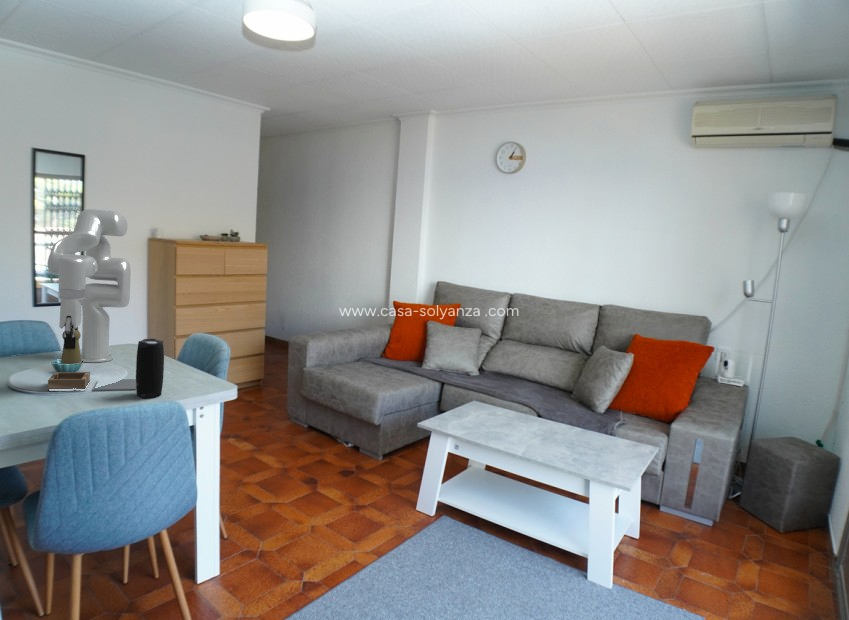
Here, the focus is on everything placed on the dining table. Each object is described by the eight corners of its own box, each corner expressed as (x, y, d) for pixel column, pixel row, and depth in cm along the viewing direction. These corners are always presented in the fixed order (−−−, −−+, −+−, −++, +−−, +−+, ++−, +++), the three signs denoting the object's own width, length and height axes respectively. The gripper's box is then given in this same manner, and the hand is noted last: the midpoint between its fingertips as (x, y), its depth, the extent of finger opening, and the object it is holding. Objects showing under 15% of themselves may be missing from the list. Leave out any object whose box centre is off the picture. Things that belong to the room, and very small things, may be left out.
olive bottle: (56, 361, 183) (57, 329, 182) (75, 358, 189) (75, 327, 187) (67, 365, 181) (67, 332, 179) (85, 362, 186) (85, 330, 184)
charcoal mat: (98, 381, 195) (98, 379, 195) (138, 380, 200) (138, 379, 200) (92, 391, 183) (92, 389, 183) (135, 390, 188) (135, 388, 188)
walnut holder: (54, 383, 188) (55, 372, 187) (89, 383, 192) (90, 372, 191) (47, 392, 178) (48, 380, 178) (84, 391, 182) (84, 379, 182)
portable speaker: (136, 400, 178) (138, 343, 176) (134, 392, 186) (135, 338, 184) (164, 398, 183) (166, 342, 180) (161, 390, 190) (162, 337, 188)
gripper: (63, 289, 188) (63, 341, 190) (52, 297, 172) (52, 352, 175) (89, 291, 191) (88, 341, 193) (80, 298, 175) (79, 352, 178)
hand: (71, 346), depth 184 cm, fingers closed on olive bottle, 5 cm apart
